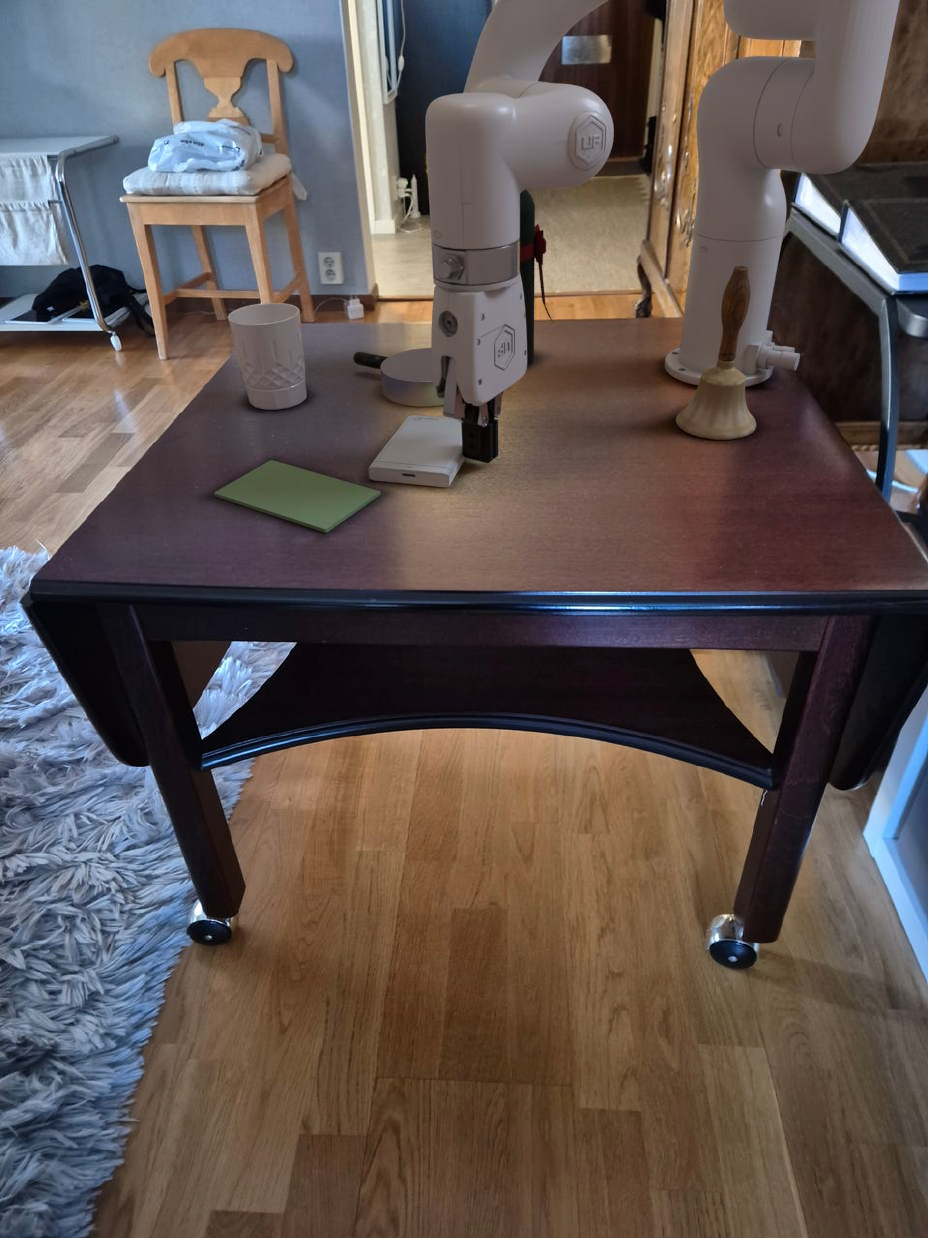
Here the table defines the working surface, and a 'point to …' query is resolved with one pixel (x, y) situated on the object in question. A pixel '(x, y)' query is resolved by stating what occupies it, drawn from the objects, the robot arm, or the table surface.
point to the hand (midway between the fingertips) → (480, 456)
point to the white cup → (270, 354)
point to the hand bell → (723, 375)
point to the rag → (298, 495)
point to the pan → (405, 376)
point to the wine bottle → (530, 264)
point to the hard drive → (421, 453)
